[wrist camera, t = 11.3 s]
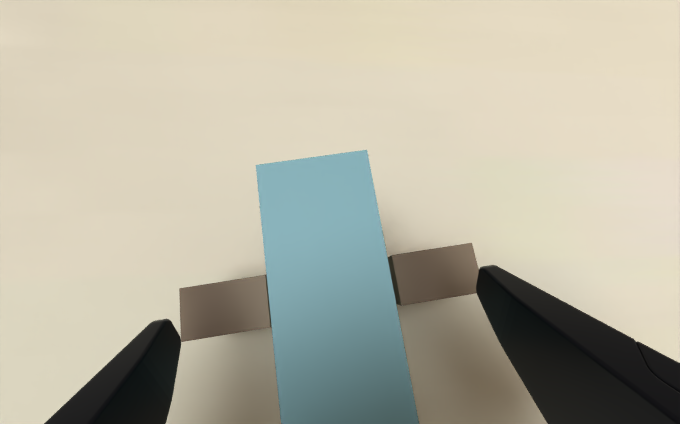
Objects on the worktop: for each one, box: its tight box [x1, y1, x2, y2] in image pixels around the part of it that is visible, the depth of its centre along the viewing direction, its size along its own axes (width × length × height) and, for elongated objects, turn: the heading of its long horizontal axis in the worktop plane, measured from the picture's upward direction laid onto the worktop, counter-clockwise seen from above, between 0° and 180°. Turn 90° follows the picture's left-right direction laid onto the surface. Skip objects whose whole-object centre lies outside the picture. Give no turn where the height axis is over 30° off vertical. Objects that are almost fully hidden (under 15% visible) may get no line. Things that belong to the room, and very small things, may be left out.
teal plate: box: [256, 150, 419, 424], centre depth 12 cm, size 7×3×10 cm, turn 9°
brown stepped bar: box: [179, 243, 479, 342], centre depth 15 cm, size 12×2×5 cm, turn 99°
